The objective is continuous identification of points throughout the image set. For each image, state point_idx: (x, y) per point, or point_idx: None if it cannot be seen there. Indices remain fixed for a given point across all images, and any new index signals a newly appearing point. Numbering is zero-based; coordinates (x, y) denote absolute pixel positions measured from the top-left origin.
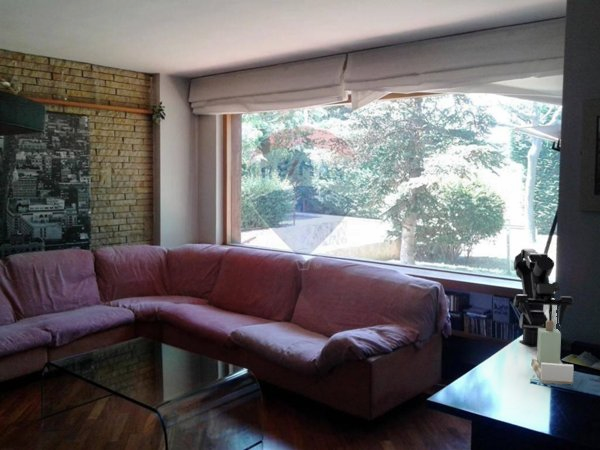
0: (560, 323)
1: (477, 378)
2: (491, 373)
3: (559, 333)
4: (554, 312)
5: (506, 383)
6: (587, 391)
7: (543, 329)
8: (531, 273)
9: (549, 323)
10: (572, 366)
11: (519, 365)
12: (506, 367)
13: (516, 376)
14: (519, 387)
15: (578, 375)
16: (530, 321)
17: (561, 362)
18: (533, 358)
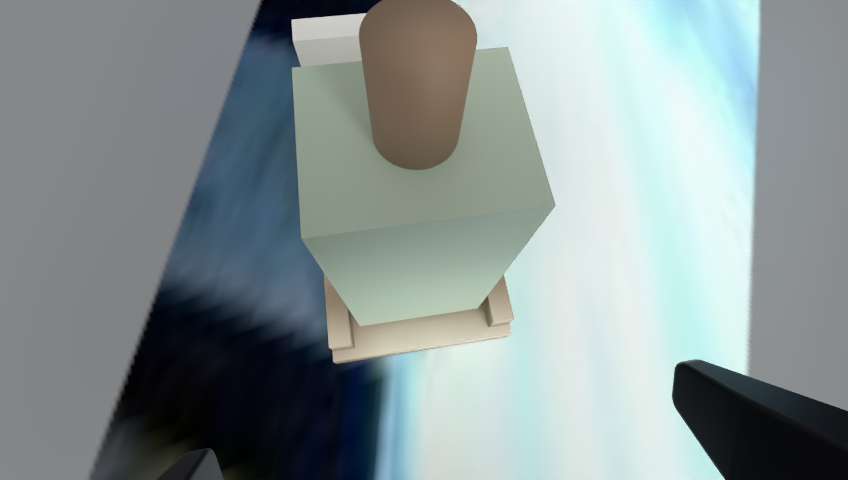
0: (188, 459)
1: (706, 53)
2: (673, 125)
3: (309, 70)
4: None
5: (586, 39)
6: (268, 55)
7: (485, 153)
8: None
9: (422, 9)
10: (298, 20)
11: (569, 295)
12: (629, 233)
13: (560, 124)
14: (532, 17)
15: (256, 240)
16: (722, 368)
17: (327, 291)
18: (504, 309)
